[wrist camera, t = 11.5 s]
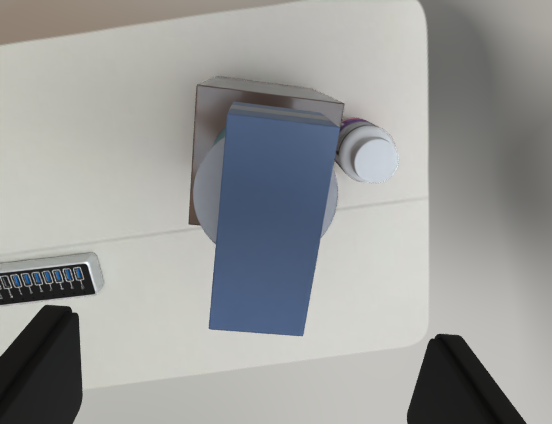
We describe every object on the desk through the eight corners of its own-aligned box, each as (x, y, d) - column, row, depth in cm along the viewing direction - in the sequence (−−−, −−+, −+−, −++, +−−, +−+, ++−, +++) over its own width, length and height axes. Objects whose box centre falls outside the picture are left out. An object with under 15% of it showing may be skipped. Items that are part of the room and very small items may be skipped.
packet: (232, 100, 21) (226, 112, 16) (321, 112, 21) (341, 126, 16) (216, 277, 24) (208, 330, 19) (293, 284, 24) (303, 337, 20)
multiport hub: (105, 285, 50) (98, 295, 47) (-16, 299, 49) (-28, 310, 47) (95, 252, 48) (88, 261, 46) (-29, 266, 48) (-43, 276, 46)
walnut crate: (216, 76, 42) (196, 84, 27) (313, 88, 43) (344, 103, 28) (209, 170, 45) (188, 224, 30) (299, 180, 46) (320, 237, 31)
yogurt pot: (211, 102, 28) (197, 116, 21) (327, 117, 28) (350, 134, 22) (203, 212, 30) (189, 256, 23) (309, 223, 31) (325, 268, 24)
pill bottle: (380, 157, 46) (412, 181, 37) (333, 171, 46) (353, 198, 37) (370, 110, 44) (401, 122, 35) (321, 125, 44) (339, 141, 35)
